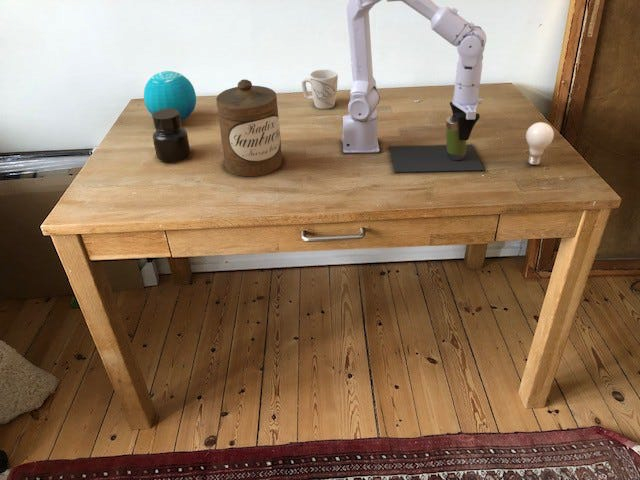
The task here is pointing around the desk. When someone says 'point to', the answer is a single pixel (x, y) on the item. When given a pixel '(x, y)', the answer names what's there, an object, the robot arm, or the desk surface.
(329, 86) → the mug
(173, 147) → the ink bottle
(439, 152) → the mat
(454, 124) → the can
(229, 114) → the wooden container
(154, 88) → the decorative orb
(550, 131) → the lightbulb
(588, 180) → the desk surface
